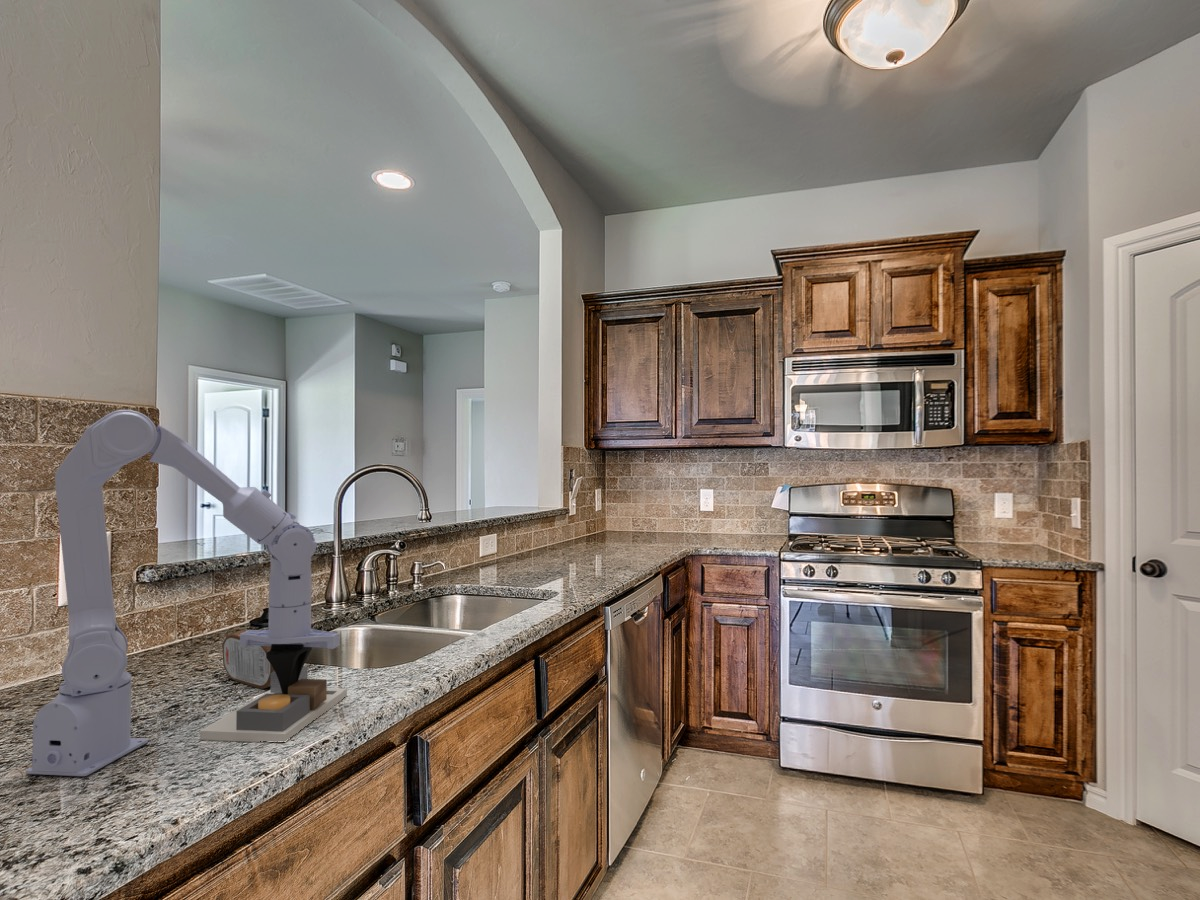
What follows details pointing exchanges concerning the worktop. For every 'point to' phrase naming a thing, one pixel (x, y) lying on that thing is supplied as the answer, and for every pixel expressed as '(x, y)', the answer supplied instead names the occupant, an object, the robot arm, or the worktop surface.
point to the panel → (270, 719)
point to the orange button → (274, 702)
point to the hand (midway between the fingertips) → (289, 695)
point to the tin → (246, 662)
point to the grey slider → (276, 685)
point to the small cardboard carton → (310, 690)
